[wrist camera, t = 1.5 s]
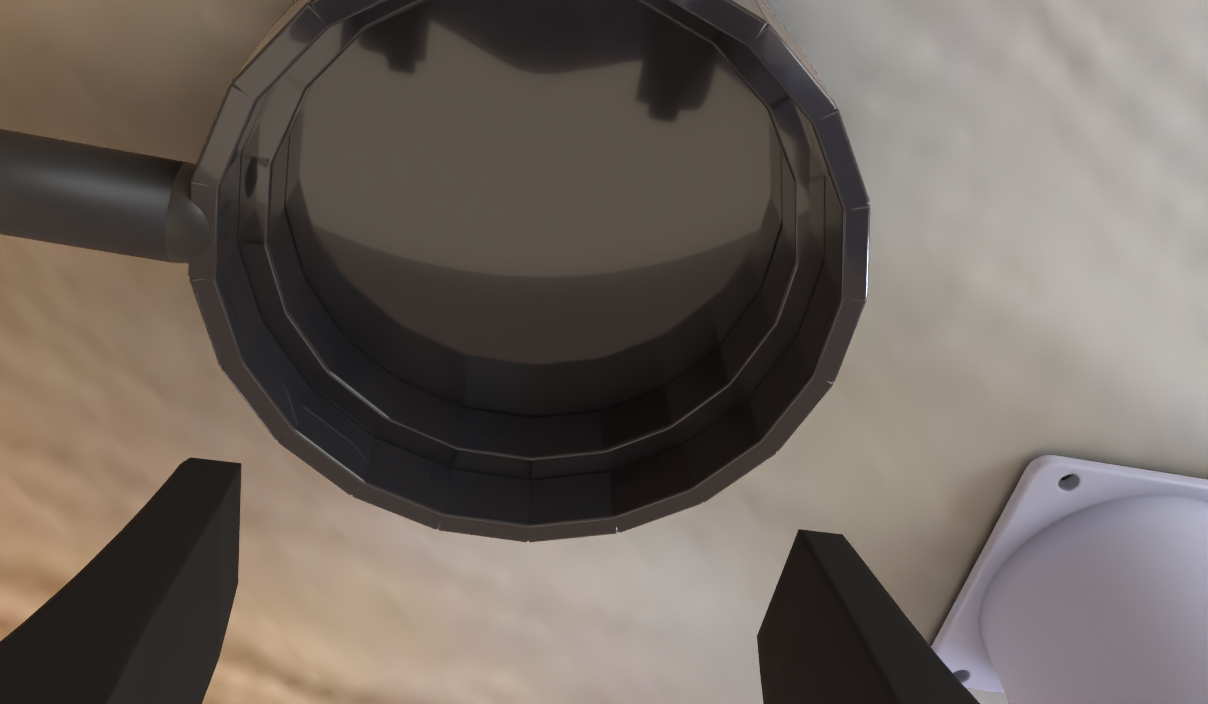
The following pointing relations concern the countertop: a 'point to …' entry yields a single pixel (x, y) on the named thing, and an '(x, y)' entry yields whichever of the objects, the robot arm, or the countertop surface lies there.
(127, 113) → the countertop surface
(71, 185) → the pan handle
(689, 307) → the pan
